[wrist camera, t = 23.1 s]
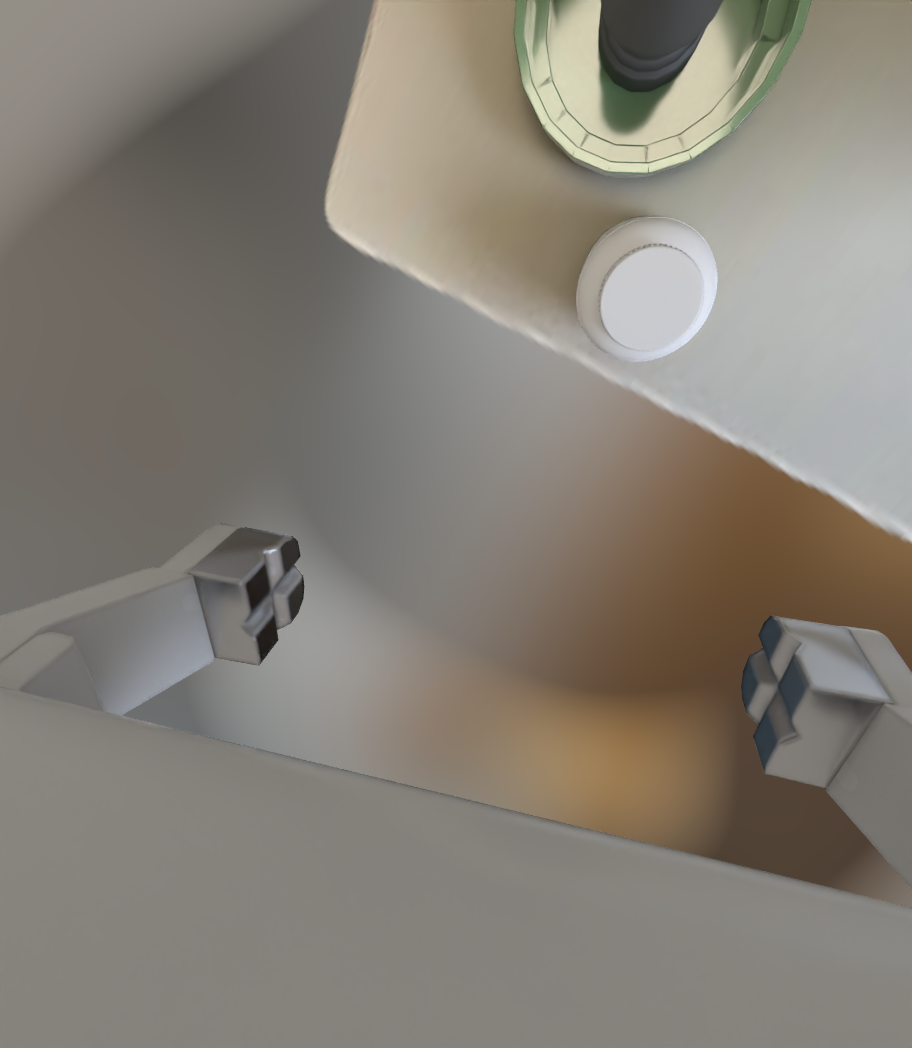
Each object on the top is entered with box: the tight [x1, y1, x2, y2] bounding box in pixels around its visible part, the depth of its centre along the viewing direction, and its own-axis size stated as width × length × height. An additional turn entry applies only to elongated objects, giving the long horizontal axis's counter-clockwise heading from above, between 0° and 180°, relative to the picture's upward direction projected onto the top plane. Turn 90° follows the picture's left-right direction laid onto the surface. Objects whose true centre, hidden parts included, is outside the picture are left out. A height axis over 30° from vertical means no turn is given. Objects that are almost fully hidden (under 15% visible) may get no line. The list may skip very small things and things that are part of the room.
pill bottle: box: [576, 216, 718, 362], centre depth 34 cm, size 8×8×15 cm
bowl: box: [514, 0, 811, 178], centre depth 31 cm, size 16×16×6 cm
